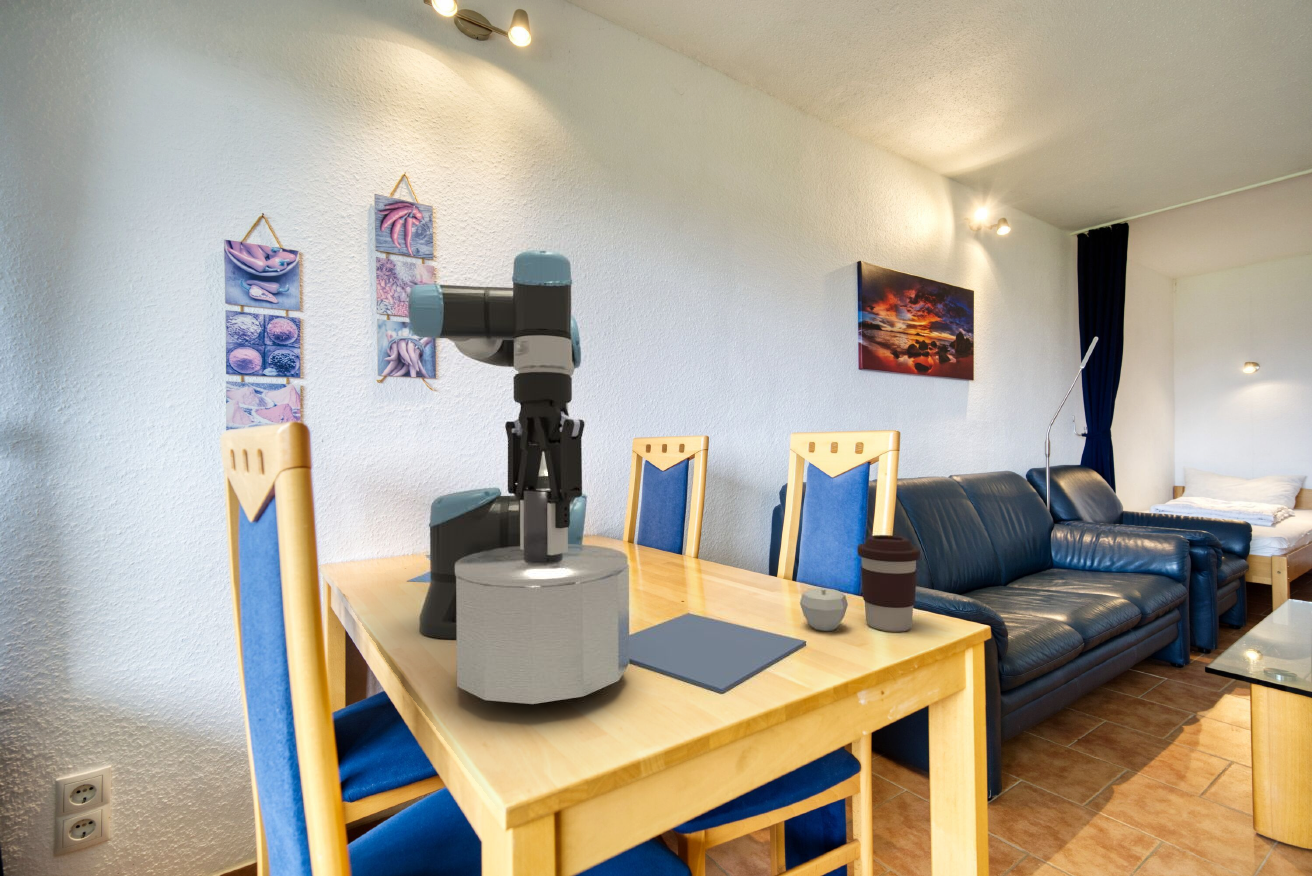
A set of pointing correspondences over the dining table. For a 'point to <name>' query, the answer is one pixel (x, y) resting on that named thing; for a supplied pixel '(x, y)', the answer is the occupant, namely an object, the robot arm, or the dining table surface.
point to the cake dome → (541, 617)
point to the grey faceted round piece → (823, 608)
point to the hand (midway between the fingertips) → (543, 550)
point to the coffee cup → (888, 581)
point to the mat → (708, 651)
